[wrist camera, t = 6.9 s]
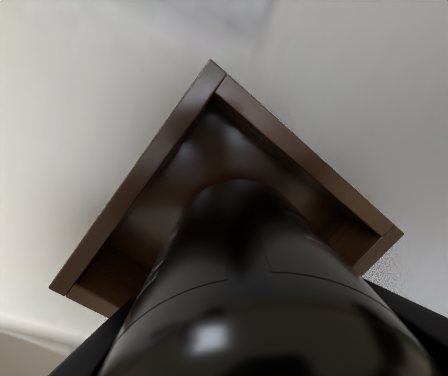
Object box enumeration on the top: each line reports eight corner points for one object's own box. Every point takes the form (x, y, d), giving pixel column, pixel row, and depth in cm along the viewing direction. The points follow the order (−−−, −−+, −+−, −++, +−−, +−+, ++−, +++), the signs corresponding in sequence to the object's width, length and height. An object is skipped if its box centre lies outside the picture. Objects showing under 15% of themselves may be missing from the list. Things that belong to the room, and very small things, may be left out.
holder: (349, 205, 14) (405, 234, 10) (238, 324, 16) (249, 388, 12) (208, 82, 12) (210, 57, 8) (93, 241, 13) (47, 288, 9)
